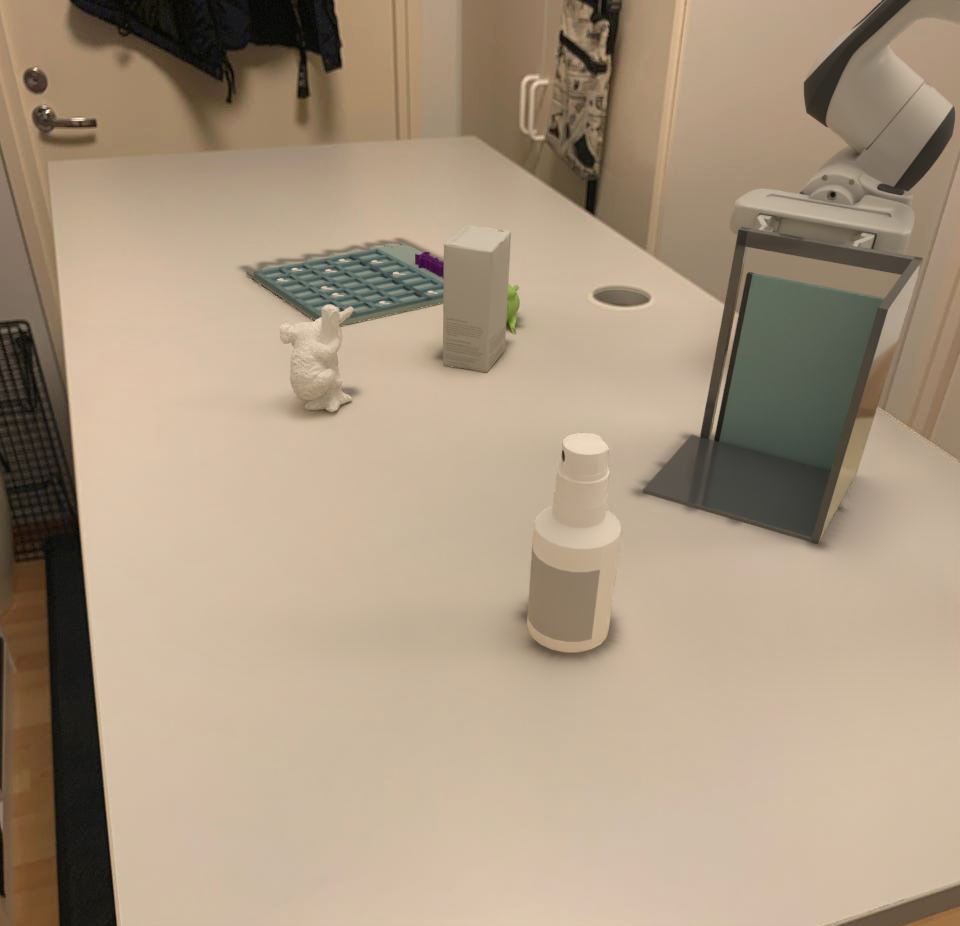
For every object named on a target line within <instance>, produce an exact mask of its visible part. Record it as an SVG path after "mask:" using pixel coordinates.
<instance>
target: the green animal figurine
mask: <svg viewBox="0 0 960 926" xmlns="http://www.w3.org/2000/svg"><path fill="white" fill-rule="evenodd" d="M519 289H520V286H519V285H518V284H515V285H514V286H512V285H511V284H509V283H508V300H507V320H506V324H507V325H508V327H509V329H510V331H511V332H512V334H514V333H516V334H517V329H516V327H515V326H516V325H517V320H518V319H517V316H516V314H517V313H518V311H519V310H520V309H519V308H520V304H521V301H520V297H519V294H518V293H517V291H519Z"/></svg>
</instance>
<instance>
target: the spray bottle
mask: <svg viewBox="0 0 960 926" xmlns="http://www.w3.org/2000/svg"><path fill="white" fill-rule="evenodd" d="M561 444H562V445H561V453H560V454H561V455H560V461H559V464H558V466H557V468H556V477H555V490H554V492H553V499H552V500H553V501H552V505H549V506H547V507H545V508H544V509H543V510H541V511H540V512H539V513H538V514H537V515H536V517H535V519H534V521H533V524H532V525H533V527H532V541H531V559H530V572H529V573H530V574H529V585H528V586H529V588H528V604H527V617H526V619H527V620H526V625H527V632H528V633H529V634H530V637H531V638H532V640H534V641H536V642H537V643H538V644H539V645H541V646H543V647H545V648H547V649H549V650H552V651H556V652H561V653H582V652H587V651H591V650H593V649H594V648H597V647H598V646H600V645H602V643H603V642H604V641H605V640H606V639H607V637H608V634H609V631H610V630H609V629H610V623H611V614H612V608H613V607H612V606H613V600H614V593H615V586H616V577H617V572H618V565H619V555H620V549H621V541H622V534H623V530H622V526H621V523H620V520H619V519H618V518H617V517H616V516H615V514H614V513H613V512H612V511H610V510H608V508H607V507H608V489H609V480H610V469H609V464H608V461H609V455H610V454H609V453H610V448H609V446H608V445H607V443H606V442H605V441H604V440H603V439H602V437H601V436H600V435H599V434H595V433H589V432H578V433H572V434H569V435H567V436H566V437H565V438H563V440H562V443H561Z"/></svg>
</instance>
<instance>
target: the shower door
mask: <svg viewBox="0 0 960 926" xmlns="http://www.w3.org/2000/svg"><path fill="white" fill-rule="evenodd" d="M744 281H745V282H744V285H743V291H742V295H741V301H740V306H739V312H738V316H737V321H736V327H735V331H734V337H733V341H732V347H731V353H730V357H729V362H728V367H727V373H726V377H725V382H724V388H723V391H722V397H721V403H720V408H719V411H718V416H717V417H718V418H717V423H716V427H715V428H716V429H715V433H714V439H713V440H714V441H717V442H721V443H725V444H729V445H733V446H736V447H740V448H744V449H748V450H752V451H756V452H759V453H763V454H767V455H771V456H775V457H778V458H782V459H786V460H790V461H794V462H797V463H801V464H805V465H809V466H813V467H816V468H820V469H824V470H828V471H831V468H832V465H833V461H834V458H835V454H836V451H837V447H838V444H839V440H840V437H841V434H842V430H843V427H844V423H845V420H846V416H847V413H848V409H849V406H850V403H851V399H852V396H853V392H854V389H855V385H856V382H857V378H858V375H859V371H860V368H861V365H862V361H863V358H864V354H865V351H866V347H867V344H868V340H869V337H870V334H871V330H872V327H873V323H874V320H875V316H876V313H877V309H878V307H879V306H880V304H881V303H882V301H883V300H884V299H885V297H883V296H877V295H871V294H866V293H861V292H855V291H850V290H845V289H840V288H834V287H830V286H829V287H828V286H825V285H818V284H814V283H808V282H802V281H797V280H794V279H793V280H792V279H788V278H781V277H776V276H773V275H765V274H762V273H761V274H760V273H755V272H751V271H748V272H747V273H746V275H745V280H744Z"/></svg>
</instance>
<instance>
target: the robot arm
mask: <svg viewBox="0 0 960 926" xmlns="http://www.w3.org/2000/svg"><path fill="white" fill-rule="evenodd" d="M924 19H935V20H940V21H945V22H948V23H949V22H950V23H953V24H957V25H958V26H959V25H960V0H881V1H880V2H879V3H877V4H876V5H875V6H874V7H873V8H872V9H870V11H869V12H868V13H866V15H865V16H863V18H862V19H860V20H859V21H858V22H857V23H856V24H855V25H854V26H853V27H852V28H851V29H850V30H848V31H847V32H845V33H843V34H842V35H841V36H839V37H838V38H836V39H835V40H834V41H833V42H831V43H830V44H829V45H828V46H827V47H826V48H825V49H824V50H823V51H822V52H821V53H820V54H819V56H818V57H817V58H816V60H815V61H814V63H812V65H811V67H810V69H809V70H808V72H807V74H806V78H805V80H804V82H803V99H804V107H805V113H806V114H807V115H809V116H810V117H812V118H813V119H814V120H815V121H817V122H818V123H820V125H823V126H824V127H826V128H828V129H829V130H830V131H832V132H833V133H834V134H835V135H837V136H838V137H839V138H840V139H841V140H842V141H844V142H845V143H846V145H847V146H846V147H844V148H841V149H840V150H839V151H838V152H836V153H835V154H834V155H833V154H832V156H831V157H830V158H828V159H827V160H826V161H825V162H824V164H822V166H820V168H819V169H818V170H817V172H816V173H814V174H813V176H812V177H811V178H810V179H809V180H808V182H806V184H805V185H804V186H803V187H802V188H801V190H800V191H799V192H798V193H797V192H791V191H785V190H780V189H773V188H764V187H762V188H761V187H760V188H754V189H752V190H750V191H748V192H746V193H743V195H741V196H740V197H739V198H737V199H736V200H735V202H734V203H733V206H732V210H731V215H730V219H729V220H730V221H729V229H730V231H731V232H732V233H733V234H734V235H736V236H737V235H738V230H739V229H740V228H741V227H746V228H752V229H757V230H763V231H769V232H775V233H781V234H787V235H792V236H798V237H804V238H810V239H816V240H822V241H827V242H833V243H839V244H845V245H851V246H857V247H862V248H868V249H874V250H880V251H886V252H892V253H898V254H903V255H906V253H907V249H908V246H909V243H910V240H911V236H912V233H913V231H914V227H915V220H916V213H915V210H914V209H913V203H914V198H915V196H914V193H912V192H911V190H912V189H914V187H915V186H916V185H917V184H918V183H919V182H920V181H921V180H922V179H923V178H924V177H925V175H926V174H927V173H928V172H929V171H930V169H931V168H933V166H934V165H935V163H936V162H937V160H938V159H939V158H940V156H941V155H942V154H943V152H944V150H945V149H946V147H947V145H949V142H950V141H951V139H952V137H953V135H954V129H955V124H956V107H955V105H953V104H952V103H951V102H950V101H949V100H948V99H947V98H946V97H945V96H944V95H942V93H940V92H939V91H938V90H937V89H936V88H935V87H933V85H932V84H930V83H929V82H928V81H927V80H925V79H923V78H922V76H920V75H919V74H918V73H917V72H916V71H914V70H913V69H912V68H911V67H910V66H909V65H908V64H907V63H906V62H904V61H903V60H902V59H901V58H900V57H899V56H898V55H897V54H895V53H894V51H893V50H892V48H891V46H890V44H891V43H892V42H894V41H895V40H896V39H897V38H899V36H901V35H902V34H903V33H904V32H905V31H906V30H907V29H908V28H910V27H911V26H912V25H913V24H914V23H917V21H920V20H924Z"/></svg>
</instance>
